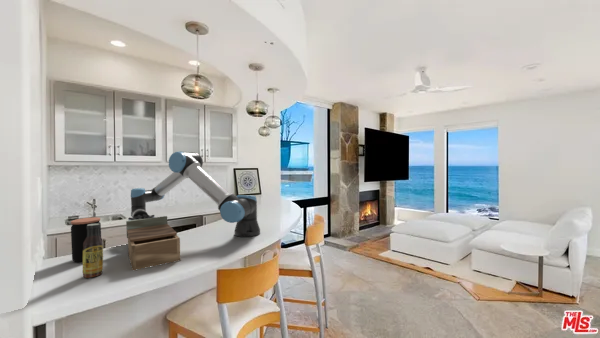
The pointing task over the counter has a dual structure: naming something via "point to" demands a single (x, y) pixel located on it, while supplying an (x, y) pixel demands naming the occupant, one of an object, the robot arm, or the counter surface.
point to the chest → (154, 251)
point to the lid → (148, 228)
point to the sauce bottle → (92, 252)
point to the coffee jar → (81, 236)
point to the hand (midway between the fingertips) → (145, 223)
